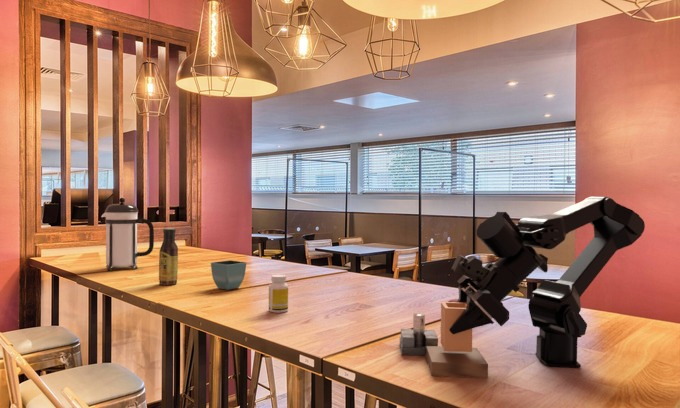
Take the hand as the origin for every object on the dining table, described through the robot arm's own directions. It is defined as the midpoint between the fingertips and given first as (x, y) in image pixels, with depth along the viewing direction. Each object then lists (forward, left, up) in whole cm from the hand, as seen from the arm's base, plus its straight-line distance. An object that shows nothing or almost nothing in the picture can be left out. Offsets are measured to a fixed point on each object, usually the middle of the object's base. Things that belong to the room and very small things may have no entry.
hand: (448, 328), depth 89 cm
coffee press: (+120, -101, -8) cm, 157 cm away
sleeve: (-1, 0, -4) cm, 4 cm away
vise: (+5, -9, -7) cm, 13 cm away
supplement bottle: (+41, -38, -8) cm, 57 cm away
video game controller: (-8, -32, -8) cm, 34 cm away
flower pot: (+64, -66, -8) cm, 92 cm away
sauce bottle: (+87, -70, -8) cm, 112 cm away
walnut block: (-1, 0, -7) cm, 8 cm away
